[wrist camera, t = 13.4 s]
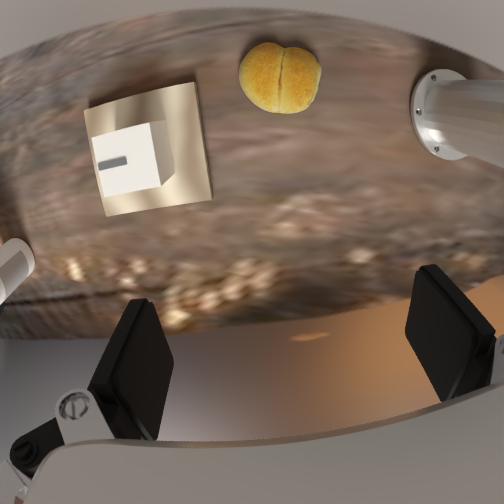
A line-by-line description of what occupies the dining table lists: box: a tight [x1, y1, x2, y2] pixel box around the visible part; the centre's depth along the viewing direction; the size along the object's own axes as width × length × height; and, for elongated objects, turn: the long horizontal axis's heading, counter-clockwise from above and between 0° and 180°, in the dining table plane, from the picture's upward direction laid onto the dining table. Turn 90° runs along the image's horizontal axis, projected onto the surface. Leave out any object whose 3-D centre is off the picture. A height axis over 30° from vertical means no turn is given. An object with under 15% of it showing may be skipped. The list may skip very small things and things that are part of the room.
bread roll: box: [239, 42, 322, 113], centre depth 30 cm, size 8×9×4 cm
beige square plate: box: [84, 82, 213, 217], centre depth 32 cm, size 14×14×6 cm
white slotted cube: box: [92, 120, 175, 197], centre depth 30 cm, size 6×6×6 cm
